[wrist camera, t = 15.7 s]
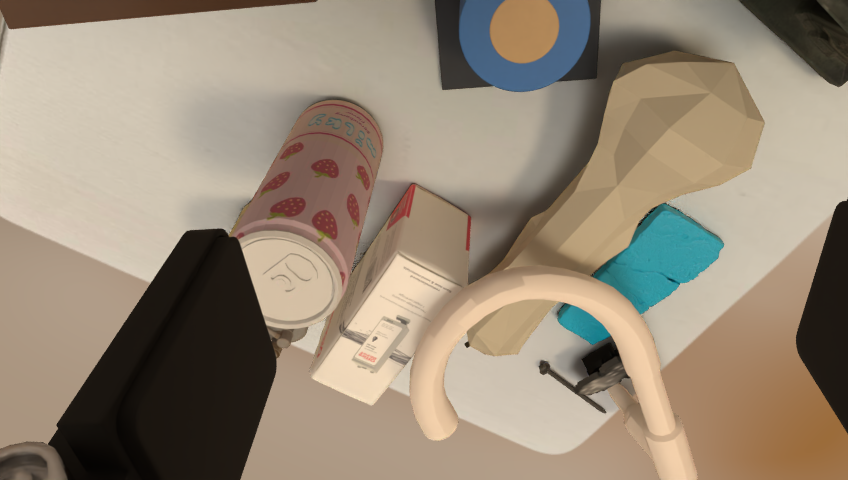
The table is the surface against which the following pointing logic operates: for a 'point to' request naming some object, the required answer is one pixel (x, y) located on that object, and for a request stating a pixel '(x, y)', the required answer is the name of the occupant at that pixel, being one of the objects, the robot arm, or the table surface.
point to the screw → (567, 385)
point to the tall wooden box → (113, 9)
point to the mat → (463, 76)
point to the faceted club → (632, 174)
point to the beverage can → (311, 214)
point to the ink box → (394, 296)
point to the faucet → (612, 309)
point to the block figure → (601, 371)
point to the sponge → (649, 267)
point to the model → (810, 32)
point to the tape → (523, 40)
